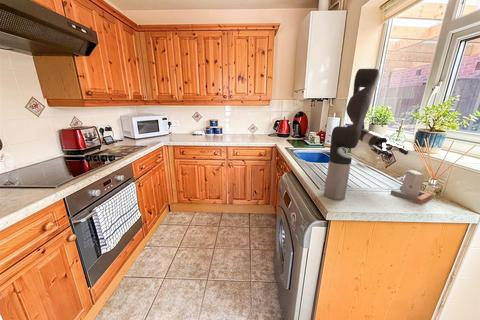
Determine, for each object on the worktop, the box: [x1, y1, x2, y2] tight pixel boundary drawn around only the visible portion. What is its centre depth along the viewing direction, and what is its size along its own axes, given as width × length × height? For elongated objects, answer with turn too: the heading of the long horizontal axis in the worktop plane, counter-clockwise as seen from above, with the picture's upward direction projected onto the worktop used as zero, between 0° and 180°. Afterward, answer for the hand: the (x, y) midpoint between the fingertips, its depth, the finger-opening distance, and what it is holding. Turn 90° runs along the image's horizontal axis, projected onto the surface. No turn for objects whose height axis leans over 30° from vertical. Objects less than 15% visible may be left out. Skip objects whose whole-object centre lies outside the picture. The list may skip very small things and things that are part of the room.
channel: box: [390, 185, 433, 205], centre depth 97 cm, size 12×12×2 cm
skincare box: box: [400, 170, 425, 197], centre depth 96 cm, size 6×4×12 cm
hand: (399, 154), depth 96 cm, fingers open, 8 cm apart
